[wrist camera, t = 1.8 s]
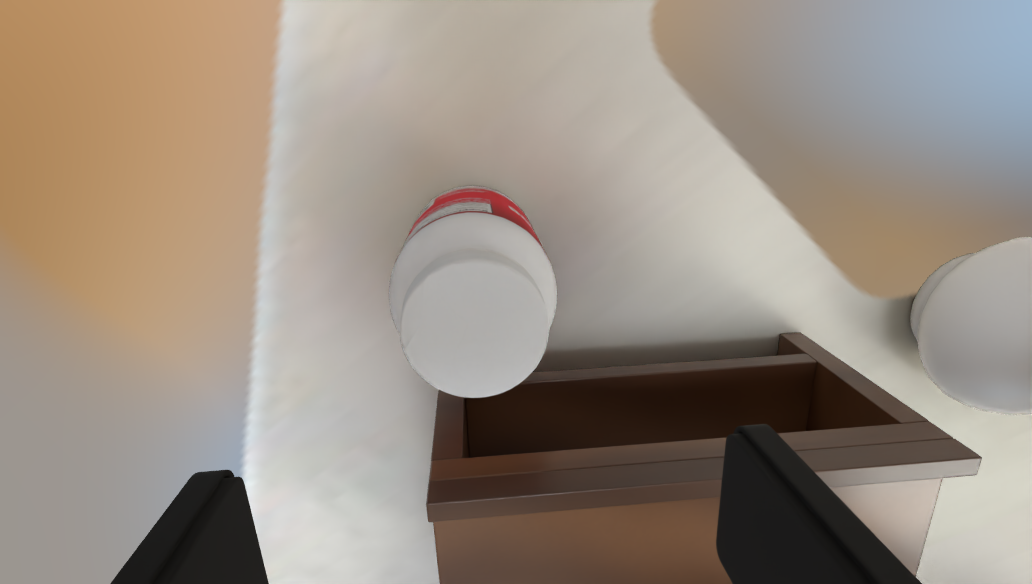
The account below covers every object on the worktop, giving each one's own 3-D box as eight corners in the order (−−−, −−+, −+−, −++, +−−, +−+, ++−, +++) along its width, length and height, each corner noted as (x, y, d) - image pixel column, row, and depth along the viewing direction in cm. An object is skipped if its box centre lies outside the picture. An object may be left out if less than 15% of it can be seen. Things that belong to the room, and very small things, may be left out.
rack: (441, 355, 29) (421, 545, 16) (800, 332, 30) (1031, 490, 18) (457, 533, 33) (450, 794, 20) (773, 505, 34) (947, 735, 22)
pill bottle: (541, 292, 28) (583, 402, 18) (425, 312, 28) (398, 435, 18) (524, 173, 26) (560, 219, 16) (398, 193, 26) (351, 253, 16)
